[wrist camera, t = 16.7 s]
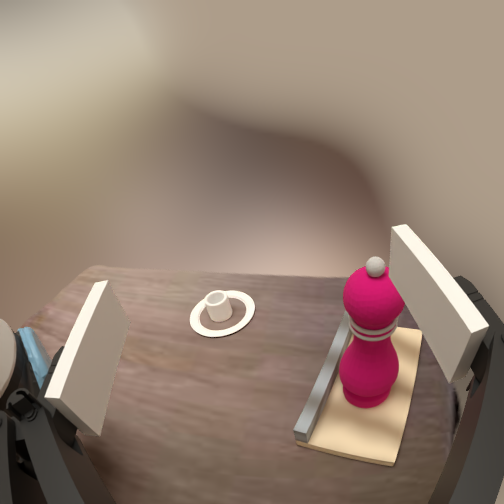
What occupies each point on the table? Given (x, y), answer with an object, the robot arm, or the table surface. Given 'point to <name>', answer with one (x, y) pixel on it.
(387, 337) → the pepper mill
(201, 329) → the candle holder
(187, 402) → the table surface
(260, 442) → the table surface
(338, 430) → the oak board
